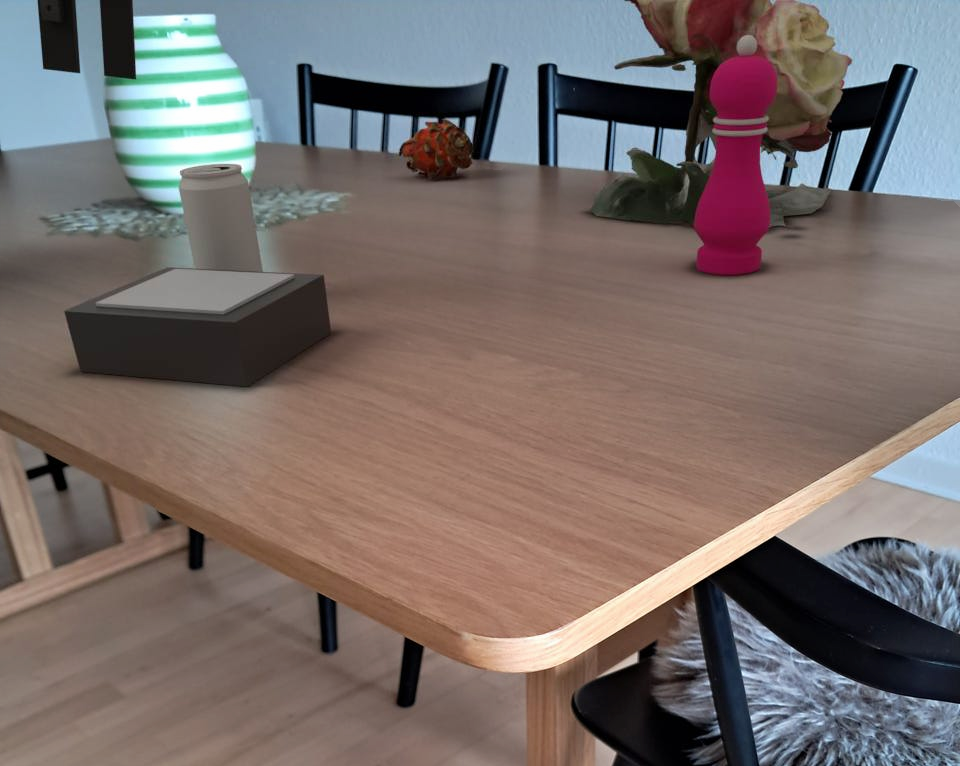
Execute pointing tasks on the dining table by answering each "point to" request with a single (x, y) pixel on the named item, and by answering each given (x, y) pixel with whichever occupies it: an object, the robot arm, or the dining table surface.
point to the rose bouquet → (709, 42)
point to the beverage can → (219, 218)
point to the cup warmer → (200, 325)
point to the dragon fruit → (438, 150)
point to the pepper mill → (736, 166)
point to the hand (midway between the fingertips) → (93, 75)
